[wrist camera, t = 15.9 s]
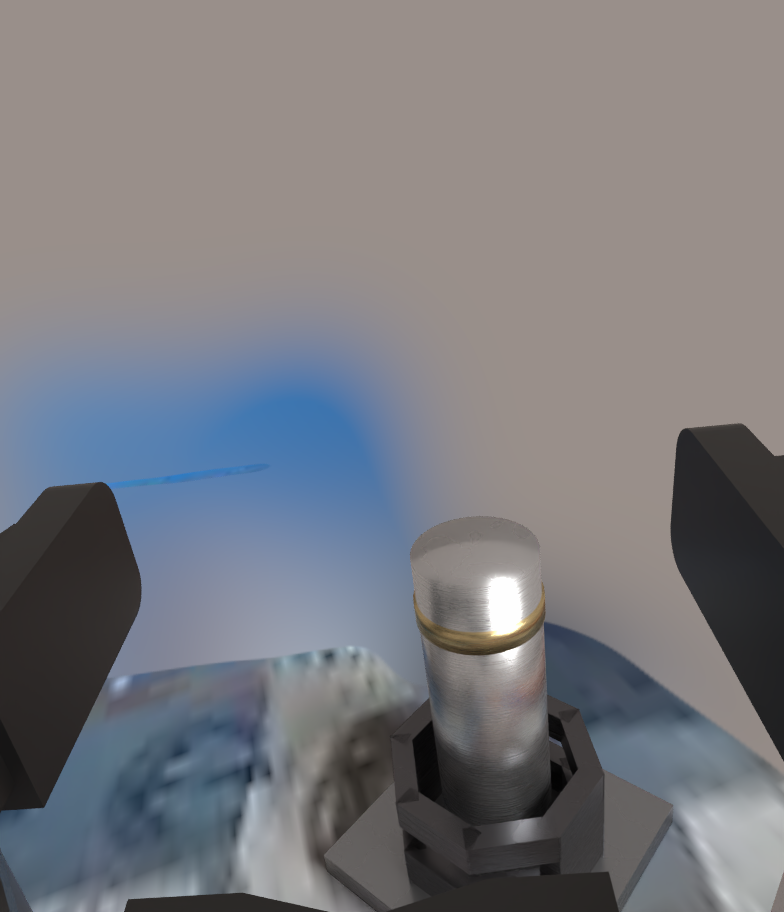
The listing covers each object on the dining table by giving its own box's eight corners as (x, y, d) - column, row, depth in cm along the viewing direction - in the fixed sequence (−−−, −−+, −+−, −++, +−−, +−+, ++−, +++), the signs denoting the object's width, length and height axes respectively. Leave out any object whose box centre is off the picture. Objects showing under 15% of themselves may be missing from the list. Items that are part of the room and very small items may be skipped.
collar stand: (327, 871, 36) (305, 780, 33) (471, 716, 44) (463, 632, 41) (543, 1046, 29) (537, 946, 26) (672, 822, 36) (678, 727, 34)
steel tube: (424, 843, 36) (380, 563, 29) (485, 769, 39) (459, 504, 32) (517, 905, 32) (492, 606, 26) (575, 819, 36) (567, 535, 29)
